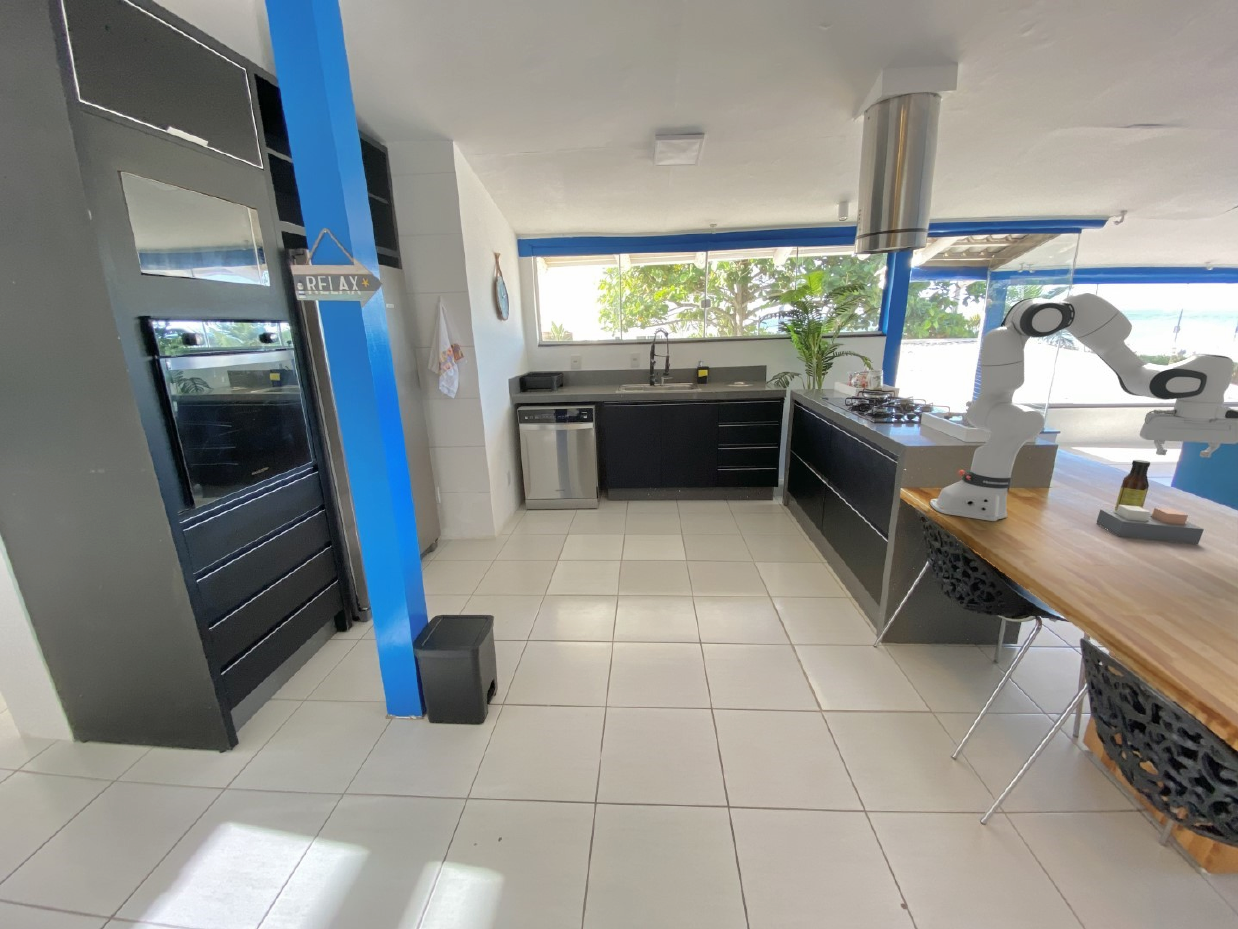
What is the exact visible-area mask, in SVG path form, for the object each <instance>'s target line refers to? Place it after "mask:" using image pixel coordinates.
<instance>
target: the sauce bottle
mask: <svg viewBox="0 0 1238 929" xmlns="http://www.w3.org/2000/svg"><path fill="white" fill-rule="evenodd" d="M1150 466H1151V462H1150V461H1148V460H1142V459H1133V460H1132V462H1131V469H1130V470H1129V473H1128V474H1127V475H1126V476H1125V477H1123V479H1122V483H1121V486H1120V490H1119V492H1118V497H1117V500H1116V503H1115V507H1114V510H1116V511H1117V509H1118V505H1129V506H1139V507H1141V508H1143V507H1144V505H1145V501H1146V497H1147V494H1148V491H1149V487H1150V485H1149V480H1148V479H1149V478H1148V470H1149V467H1150ZM1143 509H1144V508H1143Z"/></svg>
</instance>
